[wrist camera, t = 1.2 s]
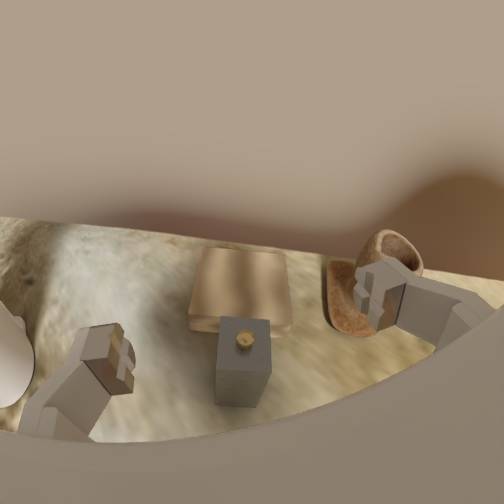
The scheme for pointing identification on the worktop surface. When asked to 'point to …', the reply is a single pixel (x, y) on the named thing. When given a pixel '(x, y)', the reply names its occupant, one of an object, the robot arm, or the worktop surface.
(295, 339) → the worktop surface
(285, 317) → the maple stand
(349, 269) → the brown piece
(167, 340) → the worktop surface
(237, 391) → the block
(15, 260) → the worktop surface
